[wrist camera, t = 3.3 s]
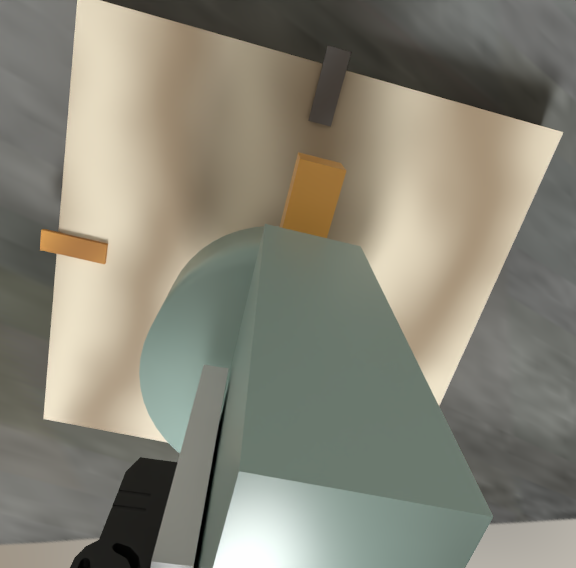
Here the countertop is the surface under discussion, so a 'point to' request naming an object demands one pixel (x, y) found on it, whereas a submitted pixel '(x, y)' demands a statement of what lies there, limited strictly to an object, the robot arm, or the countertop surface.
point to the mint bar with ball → (309, 402)
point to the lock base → (261, 193)
